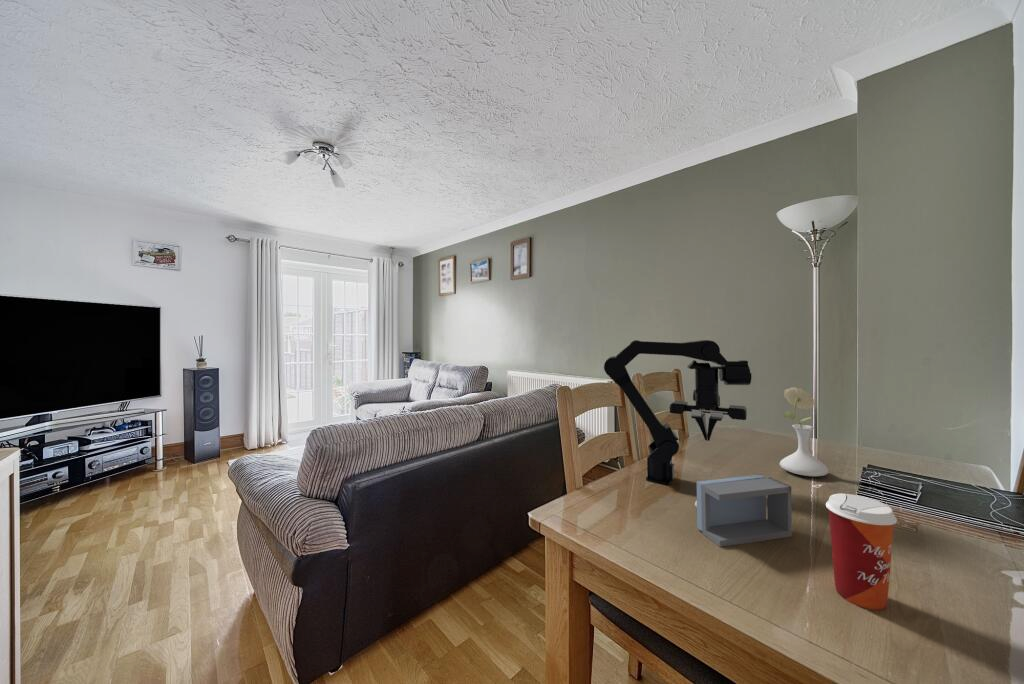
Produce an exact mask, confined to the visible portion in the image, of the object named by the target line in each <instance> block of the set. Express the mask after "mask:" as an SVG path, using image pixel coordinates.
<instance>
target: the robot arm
mask: <svg viewBox="0 0 1024 684" xmlns="http://www.w3.org/2000/svg"><path fill="white" fill-rule="evenodd" d="M639 354H640V355H641V354H642V355H644V354H645V355H661V356H677V357H678V356H679V357H680V356H681V357H687V358H691V359H693V360H691V362H690V363H689V364H687V366H686V367H687V369H690V370H694V372H695V373H694V377H695V378H694V379H695V380H694V383H695V385H694V386H695V387H694V388H695V389H693V392H692V393H693V394H692V401H694V402H695V404H688V401H682V400H681V401H679V400H674V401H673V402H671V403H670V405H669V414H675V415H676V414H677V415H682V414H683V413H684V412H690V413H691V415H690V417H691V419H694V420H695V422H696V423H697V425H698V427H699V428H700V431H701V434H702V436H703V438H704V440H705V441H708V442H709V441H711V438H712V435H713V431H714V429H715V426H716V423H717V422H722V420H723V419H724V415H726V416H729V418H730V419H731V420H739V421H746V420H747V419H748V418H747V417H748V409H747V407H746V406H745V405H734V404H730V405H729V407H721V397H720V394H719V381H720V382H723V384H724V385H725V386H750V385H751V382H752V372H751V368H750V366H749V361H748V360H745V359H741V360H727V358H725V356H723V354H722V353H721V349H720V345H718V344H717V342H716V341H714V340H709V339H700V340H699V339H698V340H692V341H686V342H683V341H682V342H670V341H669V342H667V341H666V342H665V341H647V340H646V341H644V340H637V339H635V340H632V341H631V342H630V343H629V344H628V345H627V346H626V347H625V348H624V349H622V350H621V351H620V352H619V353H617V355H613V356H612V355H611V356H609V357H608V358H607V359H606V360H605V362H604V365H603V370H604V372H605V374H606V375H607V377H609V378H610V379H611V380H612V381H613V382H614V383H615V384H616V385H617V386H618V387H619V388H620V389H621V390H622V391H623V393H624V394H625V396H626V397H627V399H628V400H629V402H630V403H631V405H632V406H633V408H634V409H635V411H636V412H637V414H638V415H639V417H640V418H641V419H642V421H643V422H644V424H645V425H646V428H647V429H648V430H649V432H650V435H651V438H652V439H653V441H652V442H651V443H650V444H648V445H647V450H648V453H649V454H648V456H647V457H646V460H647V461H646V462H647V463H646V465H647V466H646V467H647V468H646V469H647V470H646V471H647V475H646V477H645V480H646V481H649V482H654V483H660V484H664V485H670V484H671V483H672V482H673V480H674V479H675V464H674V463H673V456H675V455H676V454H677V453H678V452H679V449H680V445H679V442H678V441H679V440H680V439H679V438H678V435H677V434H676V432H675V431H674V430H672V428H671V426H670V424H669V422H666V423H662V422H661V421H660V420H659V418H658V417H657V416H656V414H655V412H654V411H653V410H652V408H651V406H650V405H649V404H648V403H647V401H646V399H645V397H644V396H643V395H642V393H641V392H640V390H639V389H638V388H637V387H636V384H634V382H633V380H632V379H631V375H630V373H629V372H628V369H627V367H626V366H627V365H628V364H630V362H632V361H633V360H634V359H635V358H636V357H637V356H638V355H639ZM694 359H695V360H694ZM697 360H699V361H703V362H698V361H697ZM709 362H711V363H713V364H715V366H713V365H712V366H711V364H710V363H709ZM716 365H717V366H716ZM706 414H710V416H709V417H708V427H707V420H706Z"/></svg>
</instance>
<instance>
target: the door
mask: <svg viewBox="0 0 1024 684" xmlns="http://www.w3.org/2000/svg"><path fill="white" fill-rule="evenodd" d="M760 478H767V477H766V476H764V475H762V474H755V475H753V474H752V475H746V476H743V475H742V476H734V477H728V478H727V477H726V478H719V479H718V478H717V479H707V480H701V481H700V480H699V481H696V501H694V506H695V507H696V526H697V527H696V528H697V529H698V530H699V531H701V532H702V485H704V484H714V483H723V482H732V481H741V480H751V479H760ZM709 497H710V527H714V526H722V525H729V524H737V523H745V522H752V521H760V520H767V495H764V496H755V497H747V498H738V499H730V500H722V501H719V500H717V499H715V498H714V497H712V496H710V495H709Z"/></svg>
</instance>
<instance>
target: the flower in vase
mask: <svg viewBox="0 0 1024 684" xmlns="http://www.w3.org/2000/svg"><path fill="white" fill-rule="evenodd" d="M783 393H784V395H783V397H785V398H786V400H787V401H788V402H789V404H791V405H792V406H793V413H791V412H790V411H786V412H784V414H783V415H782V416H783V417H786V418H788V419H789V420H794V419H796V422H797V424H792V426H791V427H792V428H793V429H794V430H795V432H796V436H797V441H798V445H797V449H796V451H795V452H793V453H791V454H790V455H787V456H785V457H784V458H782V459H781V460H780V462H779V466H780V467H781V468H782V469H784V470H785V471H787V472H790V473H792V474H794V475H795V474H796V475H800V476H805V477H814V478H815V477H823V476H826V475H828V473H829V472H830V471H829V468H828V467H827V466H826V465H825V464H824V463H823V462H822V461H821V460H819V459H818V458H816V457H815V456H813V455H812V453H811V452H810V451H809V437H810V434H811V432H812V431H813V430H814V429H815V427H814V426H811V425H806V424H801V423H802V422H806V421H808V420H810V419H811V418H812V416H810V417H805V418H803V419H800V420H799V419H798V418H797V416H796V407H797V408H799V409H800V410H801V409H802V410H810V409H814V406H815V399H814V398H813V396H812V395H811V394H809V392H807V391H804V390H803V389H802V388H797V387H795V386H794V387H790V388H786V389H785V390H784V392H783Z"/></svg>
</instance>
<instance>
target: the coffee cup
mask: <svg viewBox="0 0 1024 684" xmlns="http://www.w3.org/2000/svg"><path fill="white" fill-rule="evenodd" d="M825 506H826V508H827V509H828V518H829V530H830V546H831V553H832V554H831V555H832V556H831V557H832V567H833V577H834V578H833V579H834V586H835V591H836V593H837V594H838V595H839V596H840V597H841V598H842V599H844V600H846V601H847V602H849V603H851V604H853V605H855V606H857V607H861V608H862V609H863V608H864V609H868V610H871V611H882V610H885V609H886V608H887V606H888V598H889V590H890V589H889V587H890V577H891V565H892V551H893V550H892V549H893V539H894V528H895V527H894V526H895V524H896V523H897V522H898V519H897V516H895V515H894V511H893V509H892V508H891V507H890V506H888V505H887V504H886V503H883V502H882V501H879V500H876V499H874V498H869V497H866V496H862V495H857V494H849V493H835V494H834V493H833V494H831V495H830V496H829V497H828V500H827V501H826V503H825Z"/></svg>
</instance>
